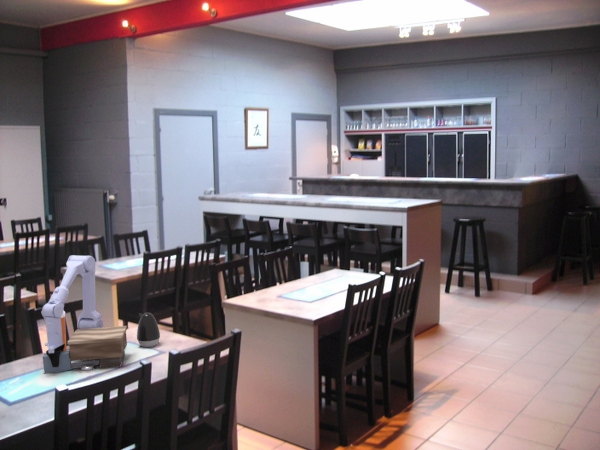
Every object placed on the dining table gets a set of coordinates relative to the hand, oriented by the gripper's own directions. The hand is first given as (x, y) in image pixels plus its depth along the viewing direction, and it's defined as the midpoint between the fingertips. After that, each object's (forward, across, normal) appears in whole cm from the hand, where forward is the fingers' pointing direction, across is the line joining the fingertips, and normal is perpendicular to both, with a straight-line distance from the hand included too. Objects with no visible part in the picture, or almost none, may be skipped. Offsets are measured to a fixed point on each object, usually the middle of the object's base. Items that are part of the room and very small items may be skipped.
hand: (57, 364), depth 254 cm
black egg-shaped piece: (+3, -24, +34) cm, 42 cm away
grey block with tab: (+2, -1, +6) cm, 6 cm away
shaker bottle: (+3, -26, -6) cm, 27 cm away
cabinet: (+2, -5, +16) cm, 17 cm away
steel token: (+2, +1, +12) cm, 12 cm away
